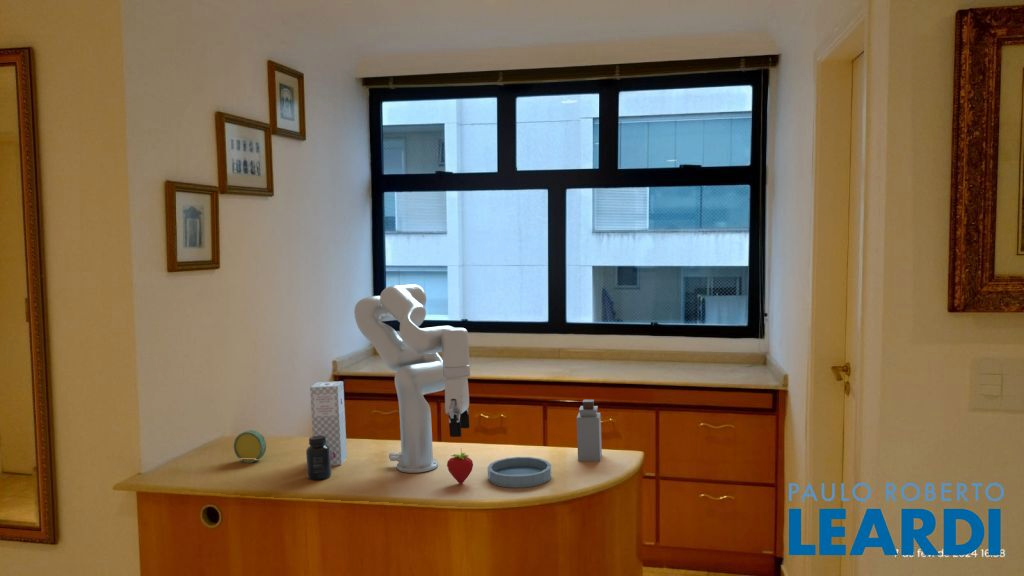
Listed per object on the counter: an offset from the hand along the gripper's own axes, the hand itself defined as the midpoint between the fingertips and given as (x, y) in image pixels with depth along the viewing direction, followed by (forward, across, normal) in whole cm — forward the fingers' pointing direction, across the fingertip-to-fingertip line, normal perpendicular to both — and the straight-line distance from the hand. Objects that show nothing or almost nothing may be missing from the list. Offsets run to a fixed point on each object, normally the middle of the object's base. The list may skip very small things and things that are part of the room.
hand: (459, 432), depth 200 cm
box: (+14, -19, -48) cm, 53 cm away
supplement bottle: (+14, -4, -45) cm, 47 cm away
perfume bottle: (+15, -27, +34) cm, 46 cm away
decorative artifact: (+13, -20, -75) cm, 78 cm away
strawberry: (+15, -1, -1) cm, 15 cm away
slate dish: (+15, -7, +15) cm, 22 cm away
